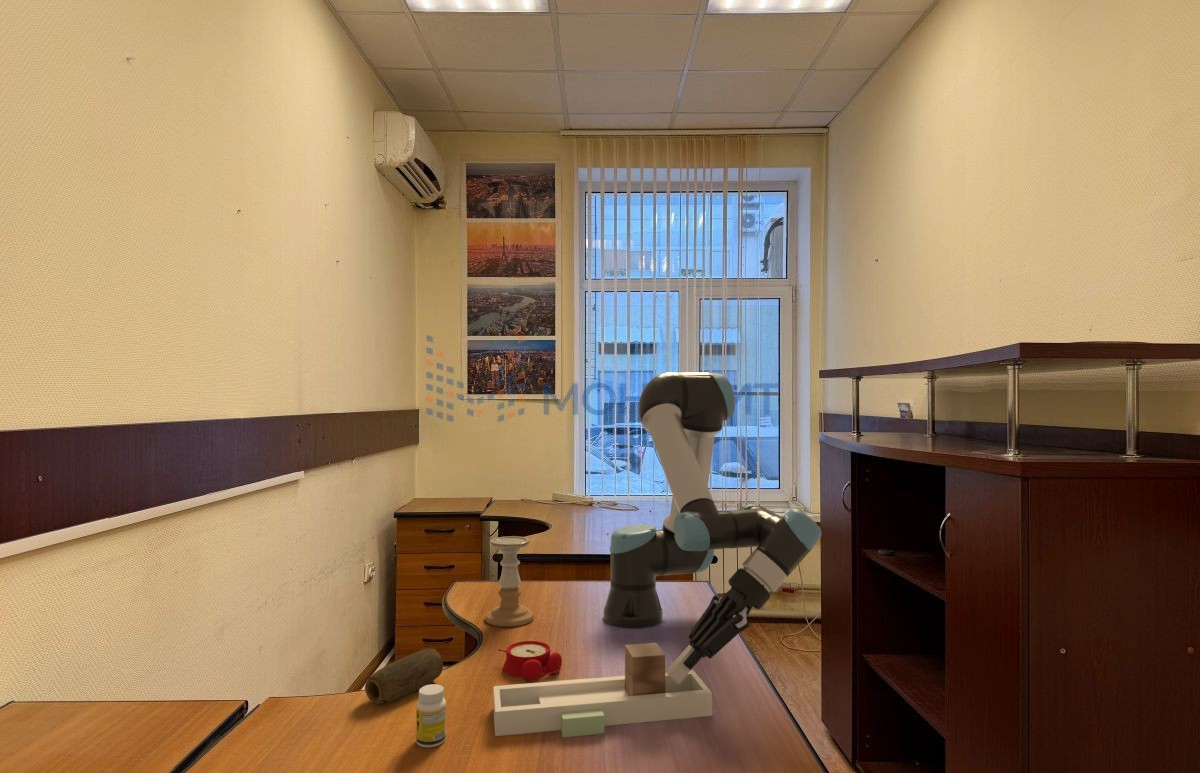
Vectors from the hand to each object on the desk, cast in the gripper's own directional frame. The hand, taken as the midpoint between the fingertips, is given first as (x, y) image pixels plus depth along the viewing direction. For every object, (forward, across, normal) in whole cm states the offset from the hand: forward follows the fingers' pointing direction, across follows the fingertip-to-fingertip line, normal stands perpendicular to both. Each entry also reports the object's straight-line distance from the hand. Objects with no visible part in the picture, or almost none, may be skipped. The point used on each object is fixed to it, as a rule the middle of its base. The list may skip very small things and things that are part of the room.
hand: (672, 678), depth 119 cm
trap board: (+13, +1, +6) cm, 14 cm away
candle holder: (+22, +54, +15) cm, 61 cm away
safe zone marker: (+16, +1, +9) cm, 18 cm away
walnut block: (+6, +1, +2) cm, 6 cm away
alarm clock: (+20, +22, +13) cm, 32 cm away
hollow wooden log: (+38, +16, +30) cm, 51 cm away
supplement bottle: (+34, -4, +26) cm, 43 cm away
